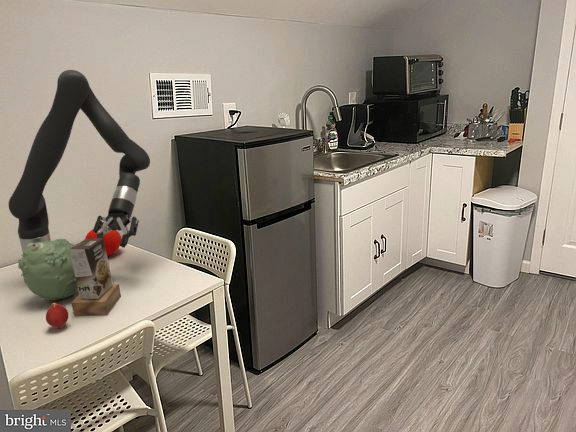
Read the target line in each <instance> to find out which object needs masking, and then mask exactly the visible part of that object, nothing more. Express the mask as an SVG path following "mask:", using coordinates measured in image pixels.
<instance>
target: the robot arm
mask: <svg viewBox="0 0 576 432" xmlns="http://www.w3.org/2000/svg"><path fill="white" fill-rule="evenodd" d="M56 83H57V86H56V91H55V94H54V99H53V101H52V106H51V107H50V110H49V111H48V114H47V116H46V117H45V118H44V120H43V122H42V123H41V125H40V126H39V128H38V131H37V132H36V134H35V137H34V140H33V142H32V145H31V147H30V151H29V154H28V157H27V158H26V159H27V160H26V162H25V166H24V169H23V173H22V175H21V177H20V180H19V182H18V183H17V185H16V186H15V189H14V190H13V193H12V194H11V196H10V198H9V201H8V209H9V212H10V214H11V215H12V216H13V217H14V218H16V219H18V227H17V234H18V238H19V239H18V240H19V244H20V247H21V252H22V253H23V251H24V250H26V247H27V245H29V244H30V243H36V242H45V241H48V240H50V241H52V238H51V234H50V230H49V224H50V223H49V220H50V219H49V214H48V208H47V204H46V200H45V199H46V198H45V197H44V194H43V193H44V190H45V187H46V186H47V183H48V181H49V180H50V178H51V177H52V175H53V174H54V172H55V170H57V168H58V165H59V164H60V162H61V160H62V158H63V155H64V153H65V151H66V148H67V145H68V143H69V140H70V137H71V133H72V131H73V127H74V122H75V120H76V117H77V115H78V113H79V111H82V113H84V114H85V116H86V117H87V118H88V120H89V121H90V123H91V124H92V126H93V127H94V129H95V130H96V131H97V133H98V134H99V135H100V137H101V138H102V139H103V140H104V142H105V143H106V144H107V145H108V146H109V147H110V150H112V151H113V152H115V153H118V154H123V156H122V157H121V158H120V161H119V167H118V172H119V173H118V175H119V176H118V177H119V179H118V181H117V185H116V187H115V190H114V192H113V194H112V197H111V201H110V204H109V208H108V213H107V216H101V215H98V216H97V218H96V220H95V224H94V227H93V231H94V232H95V233H96V234H97V238H103V239H104V235H105V234H106V233H108V232H110V231H111V230H117V231H118V232H119V231H122V233H123V234H122V235H121V238H122V239H121V242H120V247H121V248H122V249H123V248H126V247H127V245H128V243H129V239H130V237H132V236H133V237H135V236H136V235H137V231H138V226H139V222H140V221H139V219H138V218H137V217H136V216H133V213H134V208H135V205H136V200H137V195H138V192H139V188H140V184H141V179H140V177H139V176H138V175H136V173H138V172H140V171H144V170H146V169H148V168H149V167H150V164H151V159H150V158H151V157H150V156H149V154H148V153H147V151H146V150H145V149H143V147H141V146H140V145H139V144H137V143H136V142H135V141H134V140H132V139H131V138H129V135H127V133H126V132H125V131H124V129H123V128H122V127H121V125H120V124H119V123H118V122H117V121H116V120H115V118H113V117H112V115H111V114H110V113H109V112H108V111H107V109H105V107H104V106H103V104H102V103H101V102H100V101H99V99H98V98H97V96H96V95H95V93H94V92H93V90H92V88H91V86H90V83H89V81H88V79H87V78H86V76H85V75H84V74H83V73H82V72H80V71H78V70H75V69H67V70H64V71H63V72H61V73H60V74H59V75H58V78H57V82H56ZM129 224H130V226H129V229H128V225H129ZM106 227H109V228H106Z"/></svg>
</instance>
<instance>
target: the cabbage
mask: <svg viewBox="0 0 576 432" xmlns="http://www.w3.org/2000/svg"><path fill="white" fill-rule="evenodd" d="M74 246H75V245H74V244H73V243H71V242H70V241H69V240H67V239H66V238H59V239H58V238H57V239H53V240H51V241H50V240H48V241H45V242H36V243H30V244H29V245H27V247H26V250H24V251H23V252H22V254H21V256H22V257H21V258H19V259H18V262H17V264H18V266H17V267H18V269H20V270H21V272H22V273H21V275H20V276H21V277H23V282H24V284H25V285H26V287H27V288H28V289H29V291H31V292H32V293H33V294H34V295H35V296H37V297H39V298H41V299H43V300H49V301H60V300H63V299H66V298H69V297H70V296H72V295H73V294H75V293H76V292H77V291H78V287H77V282H76V277H75V273H74V268H73V264H72V260H71V255H70V250H69V249H71V248H72V247H74Z"/></svg>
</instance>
